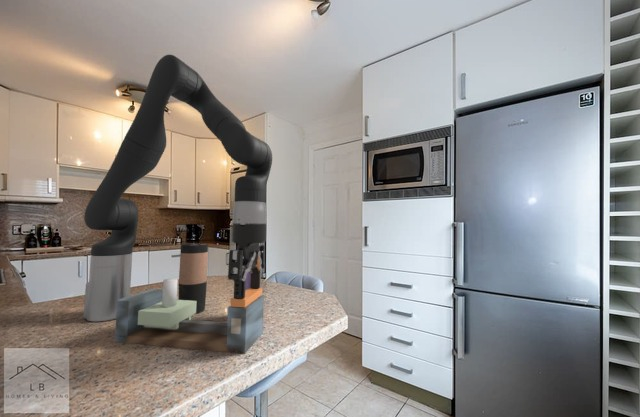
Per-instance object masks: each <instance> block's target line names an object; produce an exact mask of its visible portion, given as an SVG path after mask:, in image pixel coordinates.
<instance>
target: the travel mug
mask: <svg viewBox="0 0 640 417" xmlns="http://www.w3.org/2000/svg"><path fill="white" fill-rule="evenodd" d="M208 253H209V244H208V243H206V244H201V243H198V242H196V243H195V242H193V243H191V242H187V243H181V244H180V253H179V255H180V256H179V270H178V273H179V274H178V300H190V301H197V303H196V313H195V314H194V315H196V314H198V315H199V314H200V313H203V312H204V311H205V309H206V297H207V285H208V284H207V283H208V256H209V254H208Z"/></svg>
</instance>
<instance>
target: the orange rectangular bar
mask: <svg viewBox="0 0 640 417" xmlns="http://www.w3.org/2000/svg"><path fill="white" fill-rule="evenodd" d="M261 295H263V288H262V287H261V288H259V289H251V288H248V289H247V290H245V298H244V299H234V296H233V297H232V298H230V306H229V307H243V308H245V307H246V306H248V305H249V304H250V303H252V302H253V301H254V300H256V299H257V298H258V297H260V296H261Z"/></svg>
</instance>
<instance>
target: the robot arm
mask: <svg viewBox="0 0 640 417" xmlns="http://www.w3.org/2000/svg"><path fill="white" fill-rule="evenodd" d="M149 78H150V79H149V81H148V85H147V87H146V90H145V93H144V95H143V98H142V101H141V103H140V106H139V108H138V110H137V112H136V114H135V117H134V119H133V121H132V122H131V125H130V127H129V129H128V130H127V132H126V133H125V136H124V138H123V140H122V142H121V143H120V147H119V148H118V151H117V153H116V155H115V158H114V160H113V161H112V163H111V166H110V167H109V169H108V171H107V173H106V175H105V177H104V178H103V180H102V181H101V183H100V184H99V185H98V187H97V189H96V190H95V192H94V193H93V194H92V196H91V197H90V200H89V202H88V203H87V206H86V208H85V210H84V217H83V218H84V219H83V220H84V223H85V226H86V227H87V228H89V229H91V230H93V231H94V230H95V231H110V232H111V233H110V235H109V236H108V237H107V238H105V239H104V240H102V241H98V242H96V243H94V244H93V245H92V246H91V248H90V259H89V260H90V262H89V275H88V276H89V279H88V282H86V283H85V291H84V306H83V307H84V308H83V319H86V321H88V322H105V321H112V320H116V313H117V300H119V299H123V298H126V297H129V296H131V287H132V286H131V285H132V284H131V281H132V266H133V265H132V264H133V263H132V262H133V250H134V246H135V244H136V240H137V231H138V224H139V223H138V222H139V209H138V205H137V204H136V202H135V201H133V200H132V199H127V198H122V197H123V195H124V193H126V191H127V190H128V189H129V188H130V187H131V186H132V185H134V184H135V183H136V182H138V181H139V180H142V178H144V177H145V176H147V175H149V174H150V173H151V172H152V171H154V169H155V168H156V167H157V166H158V164H159V162H160V160H161V158H162V156H163V154H164V152H165V150H166V148H167V134H166V133H167V131H166V126H165V117H164V116H165V112H166V107H167V105H168V102H169V100H170V97H172V98H175V99H176V100H178V101H180V102H183V103H186V104H187V105H188V106H190V107H192V108H193V109H194V110H196V111H197V112H198V113H199V114H200V115H201V119H202V121H203V123H204V124H205V126H206V127H207V129H208V130H209V131H210V132H211V133H212V134H213V135H214V136H215V137H216V138H217V139H218V140H219V141H220V142H221V145H222V146H223V148H224V150H225V152H226V153H227V154H228V156H229V157H230V158H231V159H232V160H233V161H234V162H236V163H237V164H239V165H243V166H245V167H246V171H245V174H244V175H242V176H239V177H237V179H236V180H235V184H234V199H233V200H234V204H233V210H232V231H231V233H232V235H231V241H232V243H233V244H237V246H238V247H237V249H230V250H229V252H228V253H229V254H228V256H229V257H228V271H227V280H231V281H233V297H234V299H244V298H245V279H246V275H247V273H248V272H249V271H250V270H251V272H253V273H251V289H259V288H260V273H261V274H262V272H263V270H264V269H265V266H266V263H265V262H266V261H265V259H266V258H265V256H266V255H265V254H266V253H265V252H266V251H265V250H266V247H265V246H266V245H264V243H265V242H266V241H267V216H268V215H267V206H266V205H267V204H266V201H267V200H266V199H267V198H266V197H267V182H268V180H269V177H270V173H271V169H272V165H273V152H272V150H271V147H270V145H269V144H268V143H267V142H265V141H263V140H262V139H260V138H258V137H256V136H254V135H253V134H252V133H250V132H249V131H248V130H247V129H246V125H245V124H244V123H243V122H242V121H241V119H239V118H238V117H237V115H235V114H234V113H233V112H232V111H231V110H230V109H228V107H226V106H225V104H223V103H222V101H220V100H219V99H218V98H217V97H216V96H215V95H214V93H213V92H212V91H211V89H210V88H209V86H208V84H206V81H204V79H203V78H202V76H201V75H200V74H199V73H198V72H197V71H196V70H195V69H193V68H192V67H191V66H189V65H188V64H187V63H185V62H184V61H183V60H181V59H180V58H179V57H177V56H175V55H173V54H165V55H163V56H162V57H161V58H160V59H159V60H158V62H157V63H156V64H155V66H154V69H153V71H152V73H151V75H150V77H149ZM242 272H243V273H242Z"/></svg>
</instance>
